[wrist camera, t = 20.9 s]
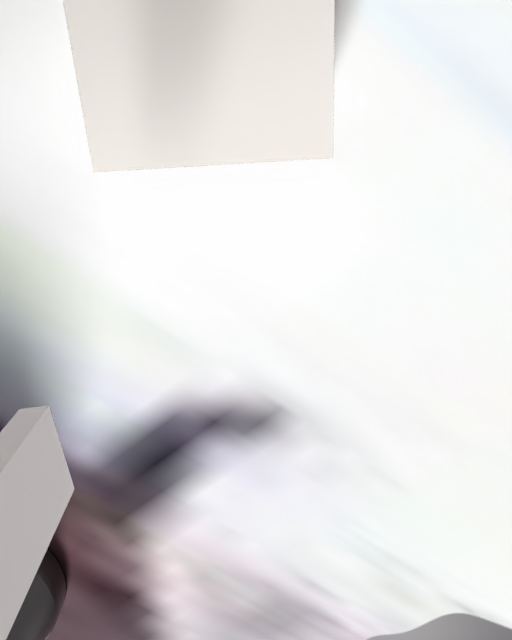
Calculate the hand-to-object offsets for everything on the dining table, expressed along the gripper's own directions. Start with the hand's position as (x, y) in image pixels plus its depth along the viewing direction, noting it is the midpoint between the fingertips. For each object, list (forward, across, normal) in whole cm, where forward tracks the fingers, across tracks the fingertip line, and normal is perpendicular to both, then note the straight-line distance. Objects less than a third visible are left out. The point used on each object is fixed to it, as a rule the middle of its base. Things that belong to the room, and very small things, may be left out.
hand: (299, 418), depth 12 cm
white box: (+18, +1, -12) cm, 22 cm away
